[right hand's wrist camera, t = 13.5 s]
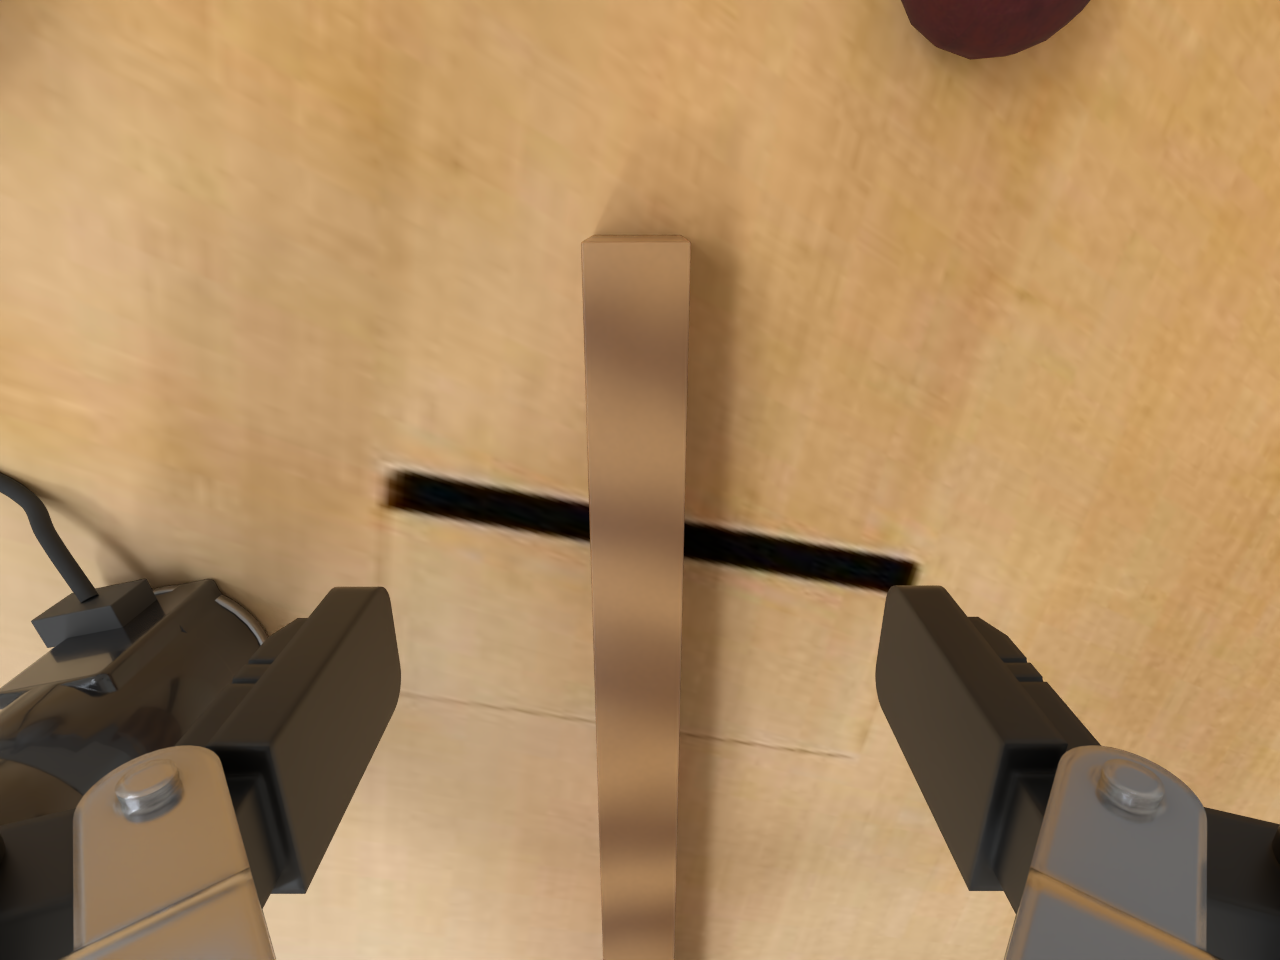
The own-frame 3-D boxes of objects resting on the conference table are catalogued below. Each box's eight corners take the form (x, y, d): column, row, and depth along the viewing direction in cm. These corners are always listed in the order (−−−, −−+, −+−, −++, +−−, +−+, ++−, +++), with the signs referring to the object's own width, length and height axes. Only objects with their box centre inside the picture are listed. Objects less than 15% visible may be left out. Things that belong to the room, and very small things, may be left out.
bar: (591, 235, 35) (580, 241, 29) (681, 235, 35) (690, 241, 29) (612, 1044, 59) (609, 1147, 52) (666, 1044, 59) (669, 1146, 52)
